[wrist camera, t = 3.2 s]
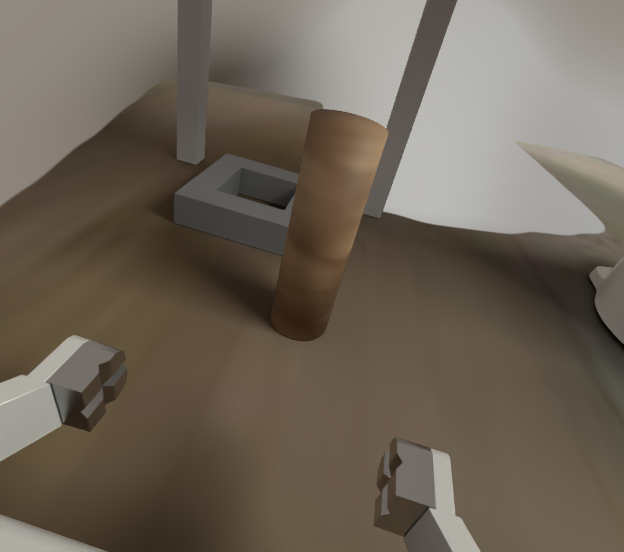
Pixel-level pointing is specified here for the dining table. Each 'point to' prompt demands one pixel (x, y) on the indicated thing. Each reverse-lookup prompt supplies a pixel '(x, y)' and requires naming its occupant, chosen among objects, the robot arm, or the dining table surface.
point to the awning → (261, 177)
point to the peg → (324, 218)
